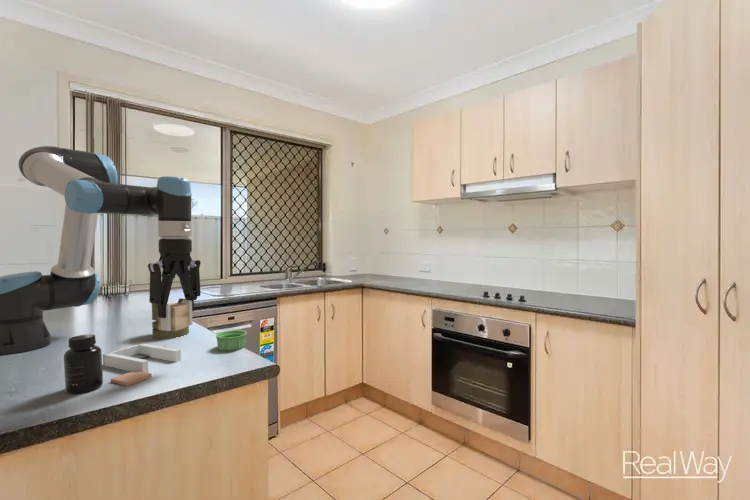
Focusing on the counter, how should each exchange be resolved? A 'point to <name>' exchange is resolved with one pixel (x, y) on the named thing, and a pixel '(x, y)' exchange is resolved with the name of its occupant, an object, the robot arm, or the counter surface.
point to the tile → (131, 377)
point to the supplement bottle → (83, 365)
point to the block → (177, 317)
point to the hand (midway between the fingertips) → (177, 327)
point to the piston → (161, 333)
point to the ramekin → (231, 340)
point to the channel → (139, 357)
